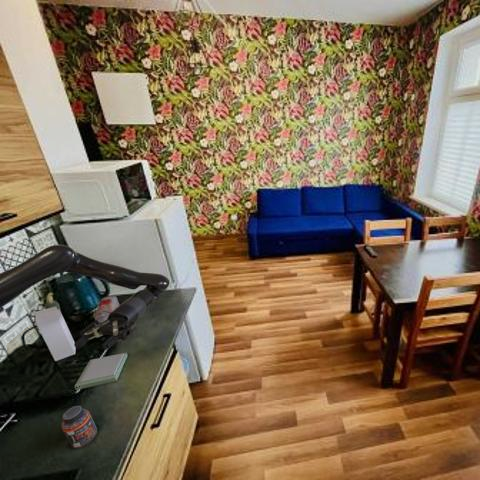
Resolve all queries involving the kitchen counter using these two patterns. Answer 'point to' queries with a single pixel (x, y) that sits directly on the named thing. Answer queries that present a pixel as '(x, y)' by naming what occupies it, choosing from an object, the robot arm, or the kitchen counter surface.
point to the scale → (101, 371)
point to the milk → (55, 333)
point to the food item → (105, 308)
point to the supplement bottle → (78, 426)
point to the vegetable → (51, 303)
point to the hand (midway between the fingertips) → (90, 347)
